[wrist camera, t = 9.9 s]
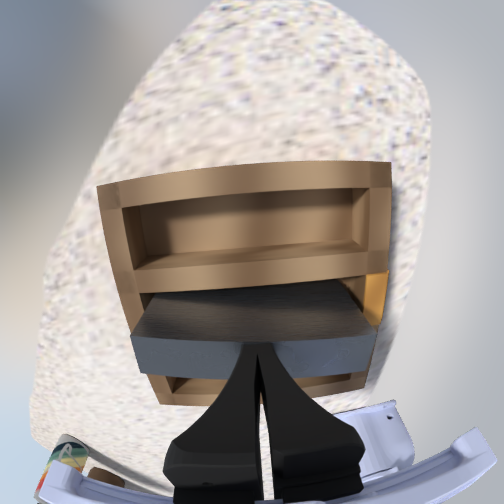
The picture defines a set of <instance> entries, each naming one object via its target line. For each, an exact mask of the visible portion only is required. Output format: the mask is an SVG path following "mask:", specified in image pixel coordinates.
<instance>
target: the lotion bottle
mask: <svg viewBox="0 0 504 504" xmlns="http://www.w3.org/2000/svg"><path fill="white" fill-rule="evenodd" d="M88 455H89V449H88V448H87V447H86V446H85V445H84V444H83V443H82V442H80V441H79V440H77V439H76V438H74V437H72V436H69V435H67V434H62V435H61V437H60V438H59V440H58V442H57V444H56V446H55V448H54V450H53V452H52V455H51V457H50V459H49V461H48V463H47V466H46V468H45V470H44V473H43V475H42V477H41V479H40V482H39V484H38V487H37V489H36V492H35V494H34V498H35V499H36V500H37V501H38V502H39V503H40V504H49V503H47V502H46V501H44V500H43V499H41V498H40V497H39V496H38V495H39V492H40V490H41V487H42V485H43V482H44V480H45V477H46V475H47V473H48V470H49V468H50V466H51V464H52V461H53V460H57V461H59V462H62V463H64V464H67V465H69V466H72V467H73V468H75V469H77V470H78V471H79V472H80V473H82V471H83V468H84V466H85V463H86V460H87V458H88ZM39 503H37V504H39Z"/></svg>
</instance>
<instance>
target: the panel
mask: <svg viewBox="0 0 504 504" xmlns="http://www.w3.org/2000/svg"><path fill="white" fill-rule="evenodd" d="M376 336H377V333H376V332H375V330H374V329H373V327H372V326H371V325H370V323H369V322H368V320H367V319H366V318H365V316H364V315H363V313H362V312H361V311H360V309H359V308H358V306H357V305H356V304H355V302H354V301H353V300H352V298H351V297H350V295H349V294H348V293H347V291H346V290H345V289H344V287H343V286H342V285H341V283H340V282H339V281H338V279H337V278H334V279H325V280H315V281H305V282H295V283H284V284H273V285H261V286H249V287H236V288H222V289H207V290H191V291H173V292H156V293H155V295H154V297H153V298H152V300H151V302H150V303H149V305H148V306H147V308H146V310H145V311H144V313H143V315H142V316H141V318H140V320H139V321H138V323H137V325H136V326H135V328H134V330H133V331H132V333H131V335H130V337H131V341H132V345H133V349H134V352H135V356H136V359H137V363H138V366H139V369H140V372H141V373H144V374H153V375H162V376H172V377H183V378H198V379H221V380H228V379H229V377H230V375H231V373H232V371H233V369H234V367H235V365H236V362H237V360H238V357H239V354H240V351H241V347H242V346H243V345H246V344H259V343H271V344H272V345H273V348H274V350H275V352H276V354H277V356H278V358H279V360H280V361H281V363H282V364H283V366H284V367H285V369H286V370H287V372H288V373H289V374H290V376H291V377H292V378H306V377H318V376H328V375H337V374H345V373H353V372H360V371H365V370H366V368H367V365H368V362H369V359H370V356H371V353H372V349H373V346H374V343H375V340H376Z"/></svg>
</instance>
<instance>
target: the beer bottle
mask: <svg viewBox="0 0 504 504" xmlns="http://www.w3.org/2000/svg"><path fill="white" fill-rule="evenodd" d="M87 477H88V478H91V479H94V480H97V481H100V482H104V483H107V484H111V485H114V486H118V487H122V488H124V485H125V483H124V481H123V480H122V479H121V478H120V477H118V476H116V475H114V474H112V473H110V472H108V471H106V470H103V469H100V468H96V467H94V468H92V469H91V470H90V472H89V474H88V476H87Z"/></svg>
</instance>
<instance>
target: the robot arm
mask: <svg viewBox="0 0 504 504" xmlns="http://www.w3.org/2000/svg"><path fill="white" fill-rule="evenodd" d="M260 395H261V396H262V401H263V406H264V411H265V416H266V422H267V427H268V433H269V443H270V454H271V465H272V477H273V488H274V500H264V493H263V480H262V467H261V453H260V438H259V422H260ZM395 404H396V401H395V400H390V401H387V402H384V403H380V404H377V405H373V406H369V407H365V408H361V409H357V410H353V411H348V412H344V413H339V414H334V415H332V414H331V413H329V412H328V411H326V410H325V409H324V408H322V407H321V406H320V405H319V404H317V403H316V402H315V401H314V400H313V399H311V398H310V397H309V396H308V395H307V394H306V393H305V392H304V391H303V390H302V389H301V388H300V387H299V385H298V384H297V383H296V382H295V381H294V380H293V378H292V377H291V376H290V374H289V373H288V372H287V370H286V369H285V367H284V366H283V364H282V363H281V361H280V360H279V358H278V356H277V354H276V352H275V350H274V348H273V345H272V344H271V343H259V344H246V345H243V346H242V347H241V351H240V354H239V357H238V360H237V362H236V365H235V367H234V369H233V371H232V373H231V375H230V377H229V379H228V381H227V382H226V384H225V386H224V388H223V389H222V391H221V392H220V394H219V395H218V397H217V398H216V399H215V401H214V402H213V403H212V404H211V406H210V407H209V408H208V409H207V410H206V412H205V413H204V414H203V415H202V416H201V417H200V418H199V419H198V420H197V421H196V422H195V423H194V424H193V425H192V426H190V427H189V428H188V429H187V430H186V431H184V432H183V433H182V434H180V435H179V436H178V437H177V438H175V439H174V440H172V442H171V444H170V446H169V448H168V451H167V454H166V457H165V462H164V467H163V473H164V475H165V476H166V477H167V478H168V480H169V481H170V482H171V483H172V484H173V485H174V486H175V489H174V496H173V497H167V496H160V495H154V494H149V493H144V492H139V491H134V490H130V489H126V488H122V487H118V486H114V485H111V484H107V483H104V482H100V481H97V480H94V479H91V478H88V477H85V476H83V475H82V474H81V473H80V472H79V471H78V470H77V469H75V468H73V467H72V466H69V465H67V464H64V463H62V462H59V461H57V460H53V461H52V464H51V466H50V468H49V470H48V473H47V475H46V477H45V480H44V482H43V485H42V487H41V490H40V492H39V495H38V496H39V497H40V498H41V499H43V500H44V501H46V502H47V503H49V504H441V503H442V502H444V501H446V500H448V499H449V498H451V497H453V496H454V495H456V494H458V493H459V492H461V491H462V490H464V489H465V488H467V487H468V486H470V485H471V484H472V483H474V482H475V481H476V480H477V479H479V478H480V477H481V476H482V475H483V474H484V473H486V472H487V471H488V470H489V469H490V468H491V467H492V466H493V465H494V464H495V463H496V462H497V458H496V456H495V455H494V453H493V451H492V450H491V448H490V446H489V445H488V443H487V442H486V440H485V438H484V437H483V435H482V434H481V432H480V431H479V429H478V428H477V427H474V428H473V429H471V430H470V431H468V432H466V433H465V434H463V435H461V436H460V437H458V438H457V439H456V440H455V441H454V442H453V443H452V445H451V446H450V447H449V448H448V449H446V450H444V451H442V452H440V453H438V454H436V455H434V456H432V457H430V458H428V459H426V460H424V461H421V462H419V463H417V464H415V465H412V464H413V461H414V455H415V454H414V446H413V442H412V439H411V437H410V435H409V433H408V431H407V429H406V427H405V425H404V423H403V421H402V420H401V417H400V415H399V413H398V412H397V410H396V408H395Z"/></svg>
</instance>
